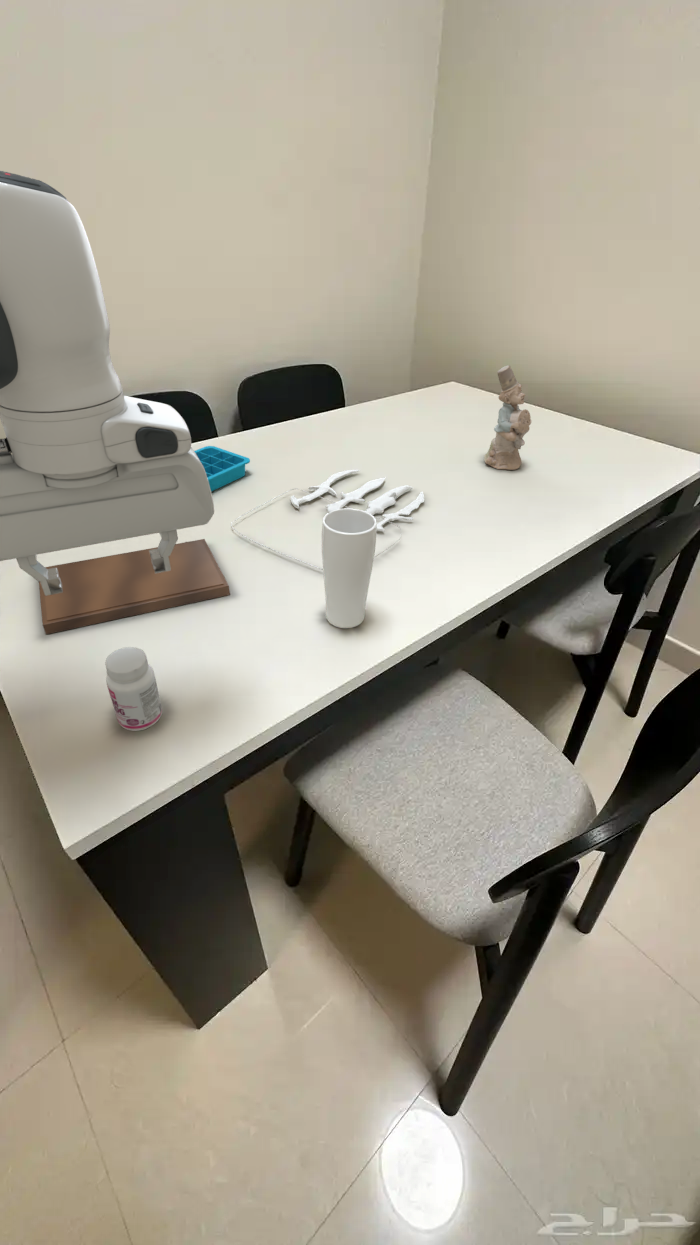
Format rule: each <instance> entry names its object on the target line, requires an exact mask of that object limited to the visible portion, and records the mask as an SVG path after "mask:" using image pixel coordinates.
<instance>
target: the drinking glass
mask: <svg viewBox="0 0 700 1245" xmlns="http://www.w3.org/2000/svg"><path fill="white" fill-rule="evenodd" d="M351 508H352V507H350V508H347V507H343V508H341V509H337V510H333V511H331V512H327V513H325V515H324V516H323V517H322V522H321V523H322V524H321V561H322V562H321V563H322V569H323V570H322V573H323V574H322V575H323V586H324V587H323V588H324V598H325V599H324V600H325V618H326V620H327V621H328V623H330V624H331V625H332V626H334V627H336V628H340V629H352V628H355V627H358V626H359V625H360V624H361V623H363V621H364V620H365V617H366V616H365V615H366V605H367V600H368V593H369V588H370V582H371V577H372V572H373V567H374V566H373V565H374V561H375V558H374V557H375V556H376V555H375V554H376V546H377V532H378V531H377V523H378V522H377V518H375V517H374V515H373V516H372V515H371V514H369V513H368V512H365V511H366V510H362V509H358V508H352V509H351Z"/></svg>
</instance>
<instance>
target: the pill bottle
mask: <svg viewBox="0 0 700 1245" xmlns="http://www.w3.org/2000/svg"><path fill="white" fill-rule="evenodd" d="M104 663H105V669H106V677H105V678H106V679H105V684H106V686H107V689H108V690H107V691H108V693H109V697H110V700H111V704H112V706H113V710H114V713H115V717H116V720H117V723H118V724H119V725H120V727H121V728H124V729H125V730H127V731H133V732H139V731H144V730H147V729H149V728H151V727H152V726H154V725H155V724H156V723H157V722H158V721H159V720H160V719H161V717H162V714H163V706H162V701H161V697H160V692H159V689H158V688H159V687H158V684H157V679H156V678H157V677H156V675H155V671H154V668H153V666H152V665H150V663H149V660H148V657H147V654H146V652H145V651H144V650H143V649H141V648H139V647H135V646H125V647H121V648H118V649H116V650H113V651H112V652H111V653H109V655H108V656H107V657H106V659H105V662H104Z"/></svg>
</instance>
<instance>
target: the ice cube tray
mask: <svg viewBox="0 0 700 1245" xmlns="http://www.w3.org/2000/svg"><path fill="white" fill-rule="evenodd" d="M194 452H195V453H196V455H197V456H198V458H199V460H200V461H201V463H202V465H203V467H204V469H205V472H206V475H207V478H208V482H209V485H210V489H211V492H214V491H215V490H217V489H220V488H222V487H224V486H226V485H229V484H230V483H232V482H235V481H238V480H239V479H241V478H243V477H245V475H246V465H247V464H250V463H251V459H250V458H249V457H247V456H244V455H241V454H238V453H235V452H233V451H229V450H226V449H223V448H220V447H217V446H214V445H207V446H204V447H201V448H199V449H196V450H194Z"/></svg>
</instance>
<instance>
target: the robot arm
mask: <svg viewBox="0 0 700 1245" xmlns="http://www.w3.org/2000/svg"><path fill="white" fill-rule="evenodd" d="M84 226H85V225H84V223H83V221H82V219H81V217H80V215H79V212H78V211H77V209H76V208H75V206H74V205H73V204H72V203H71V202H70V201H69V200H68V199H67V197H66V196H64V195H63V193H61V191H59V190H57V189H56V188H54V187H53V186H51V185H50V184H48V183H46V182H44V181H42V180H40V179H36V178H31V177H29V176H25V175H20V174H16V173H12V172H8V171H4V170H0V422H1V426H2V429H3V431H4V434H5V438H0V562H3V561H9V560H14V559H16V562H17V564H18V567H19V569H20V570H22V571H23V572H25V573H26V574H28V575H29V576H30V577H32V578H33V579H34V580H36V581H37V582H39V581H40V583H41V585H42V588H43V591H44V594H45V596H47V595H53V594H57V593H62V592H63V587H62V582H61V579H60V577H59V573H58V570H57V568H50V569H46V568H45V567H46V566H45V565H43V564H42V563H41V562H39V561H38V557H37V556H38V555H43V554H48V553H54V552H58V551H64V550H70V549H76V548H82V547H87V546H92V545H98V544H104V543H109V542H116V541H120V540H126V539H127V540H128V539H132V538H138V537H145V536H149V535H155V534H159V536H160V541H159V543H158V545H157V547H158V548H157V549H152V550H149V552H150V557H151V562H152V566H153V569H154V572H155V573H160V572H165V571H170V570H171V567H170V562H169V556H170V554H171V552H172V550H173V548H174V546H175V544H177V542H178V540H179V536H178V530H181V529H188V528H193V527H199V526H200V527H201V526H206V525H208V524H209V523H210V521H211V519H212V518H213V516H214V515H215V505H214V498H213V494H212V491H211V489H210V485H209V482H208V478H207V475H206V472H205V469H204V467H203V465H202V463H201V461H200V460H199V458H198V456H197V455H196V453H195V452H194V451H195V450H194V449H193V447H192V437H191V432H190V429H189V426H188V424H187V423H186V421H185V419H184V418H183V416H181V414H180V413H179V412H178V411H177V410H176V409H175V408H174V407H173V406H171V405H170V404H167V403H163V402H158V401H153V400H147V399H142V398H138V397H133V396H127V395H124V390H123V389H124V388H123V385H122V382H121V379H120V376H119V374H118V373H117V371H116V369H115V366H114V365H113V364H114V363H113V360H112V357H111V352H110V335H111V324H110V319H109V315H108V311H107V310H108V309H107V306H106V304H107V303H106V300H105V296H104V291H103V286H102V282H101V279H100V278H101V277H100V275H99V270H98V268H97V264H96V259H95V256H94V252H93V250H92V246H91V243H90V239H89V238H88V234H87V232H86V229H85V227H84Z"/></svg>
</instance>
